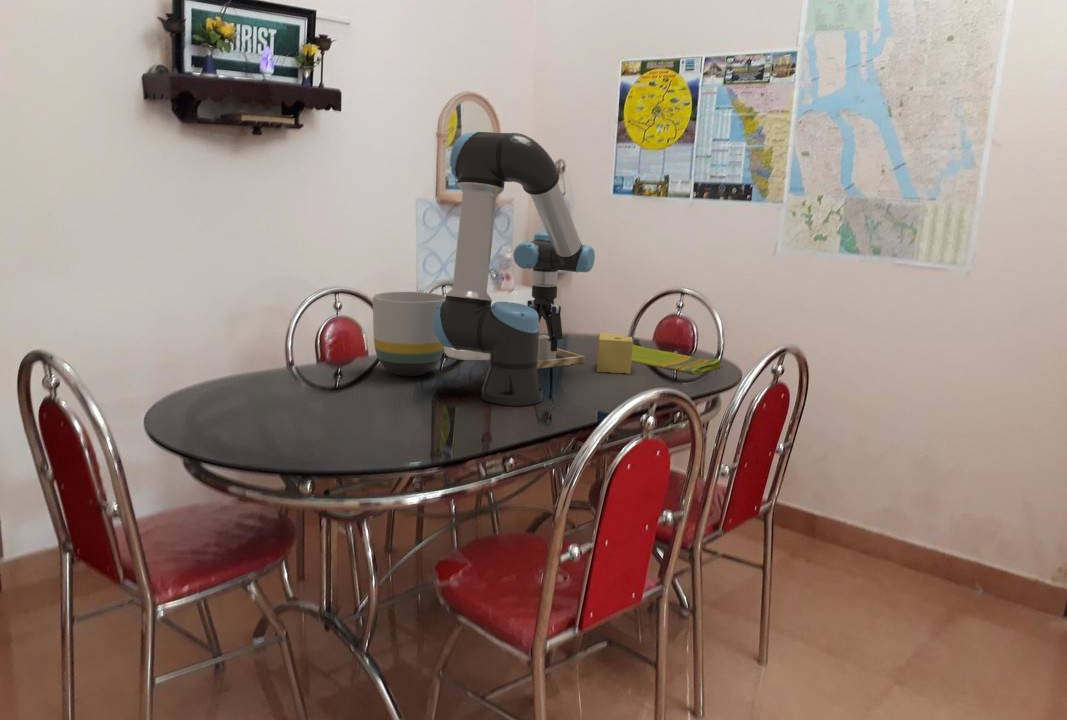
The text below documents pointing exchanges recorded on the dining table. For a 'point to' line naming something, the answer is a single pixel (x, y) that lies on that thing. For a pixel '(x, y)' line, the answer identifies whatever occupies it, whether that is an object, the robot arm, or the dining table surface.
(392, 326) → the planter
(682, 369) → the dish towel
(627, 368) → the cheese
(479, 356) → the bowl
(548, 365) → the wooden frame
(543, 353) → the pale grey block
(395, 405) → the dining table surface
